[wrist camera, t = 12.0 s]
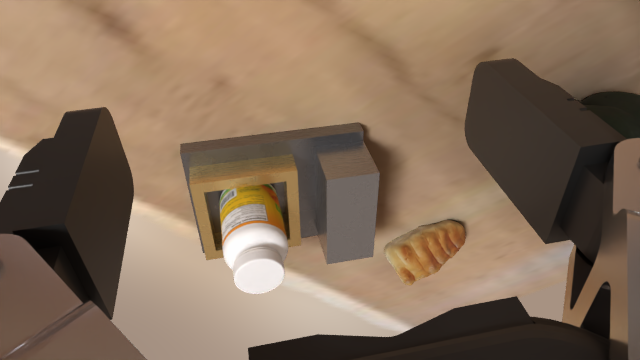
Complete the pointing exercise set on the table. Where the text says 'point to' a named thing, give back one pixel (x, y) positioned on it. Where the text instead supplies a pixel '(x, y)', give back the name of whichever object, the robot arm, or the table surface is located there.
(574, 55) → the table surface
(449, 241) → the pastry
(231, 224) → the supplement bottle
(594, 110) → the squash
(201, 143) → the grey and tan tray
